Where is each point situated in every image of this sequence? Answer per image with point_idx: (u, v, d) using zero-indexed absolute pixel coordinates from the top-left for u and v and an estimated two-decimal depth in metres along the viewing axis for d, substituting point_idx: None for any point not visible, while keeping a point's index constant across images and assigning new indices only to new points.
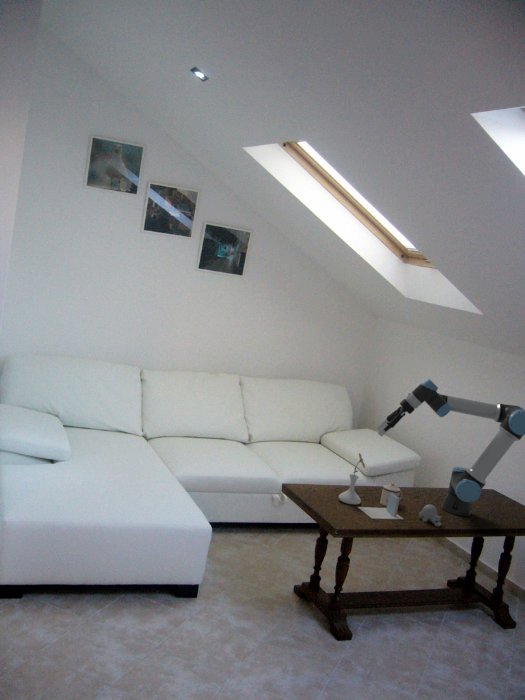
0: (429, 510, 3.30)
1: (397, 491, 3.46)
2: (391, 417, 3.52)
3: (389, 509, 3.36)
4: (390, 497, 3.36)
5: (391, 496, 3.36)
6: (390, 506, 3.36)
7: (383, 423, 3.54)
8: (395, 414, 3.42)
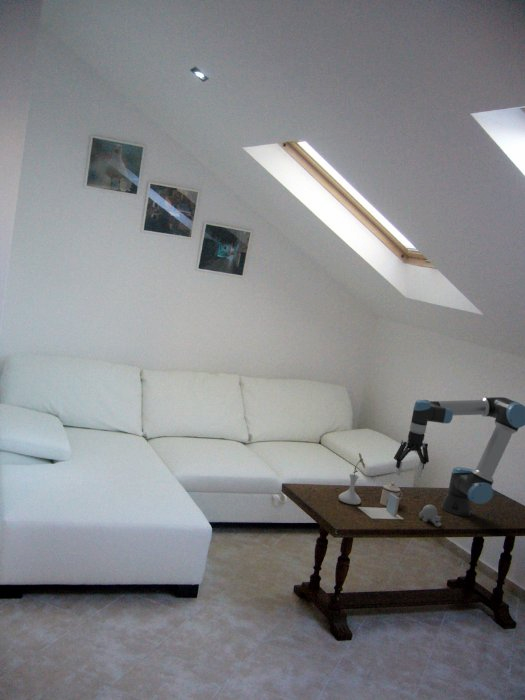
0: (429, 510, 3.30)
1: (397, 491, 3.46)
2: (419, 456, 3.37)
3: (389, 509, 3.36)
4: (390, 497, 3.36)
5: (391, 496, 3.36)
6: (390, 506, 3.36)
7: (418, 467, 3.38)
8: (405, 448, 3.34)
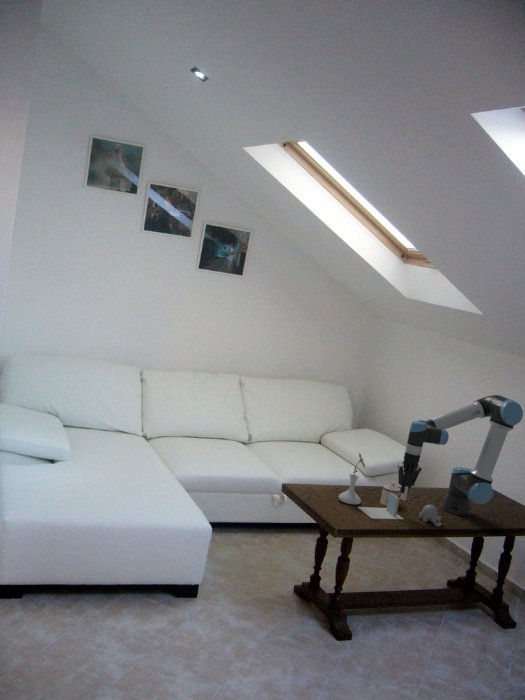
0: (429, 510, 3.30)
1: (397, 491, 3.46)
2: None
3: (389, 509, 3.36)
4: (390, 497, 3.36)
5: (391, 496, 3.36)
6: (390, 506, 3.36)
7: None
8: None
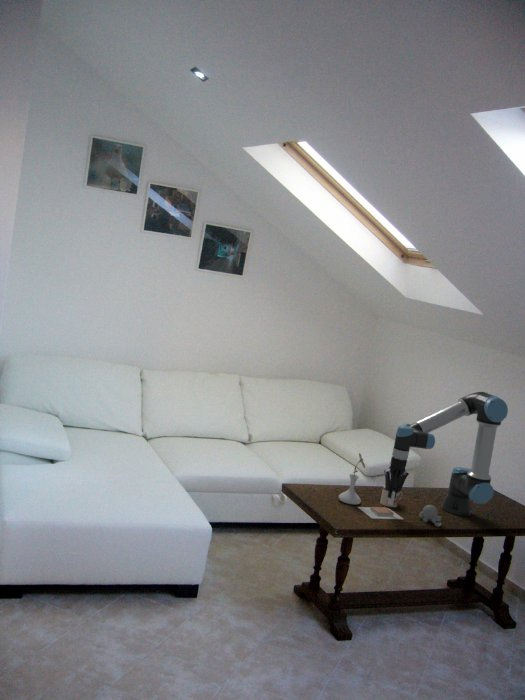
0: (429, 510, 3.30)
1: None
2: (395, 484, 3.34)
3: None
4: None
5: None
6: None
7: None
8: None
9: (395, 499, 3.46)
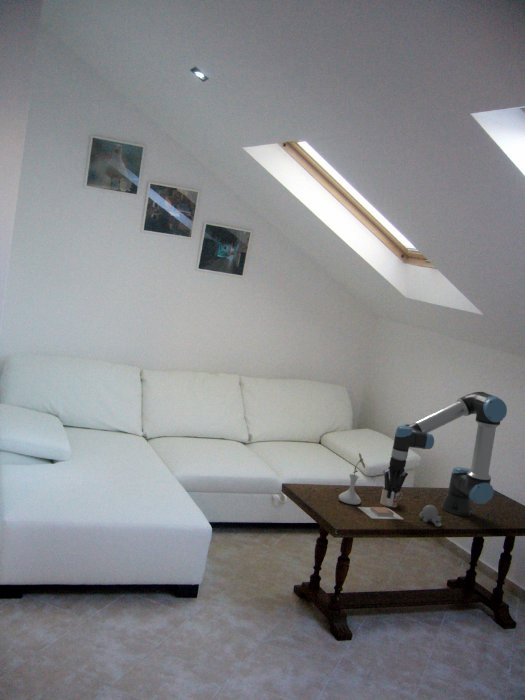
0: (429, 510, 3.30)
1: None
2: (394, 484, 3.34)
3: None
4: None
5: None
6: None
7: None
8: None
9: (395, 499, 3.46)
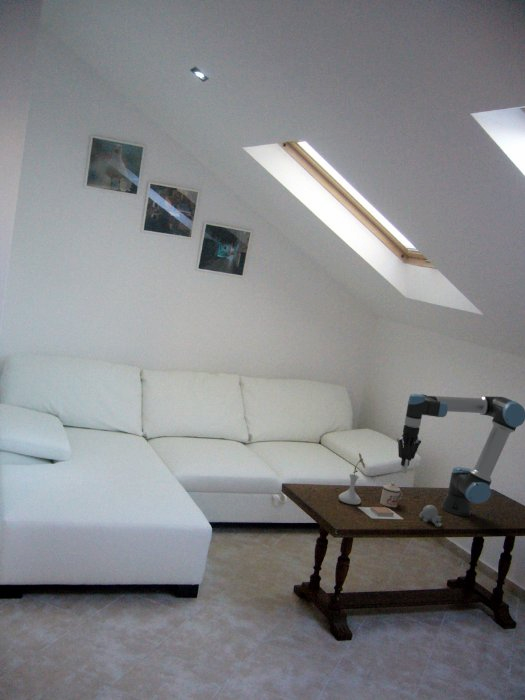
0: (429, 510, 3.30)
1: (397, 491, 3.46)
2: (408, 451, 3.37)
3: None
4: None
5: None
6: None
7: None
8: (403, 444, 3.37)
9: (395, 499, 3.46)
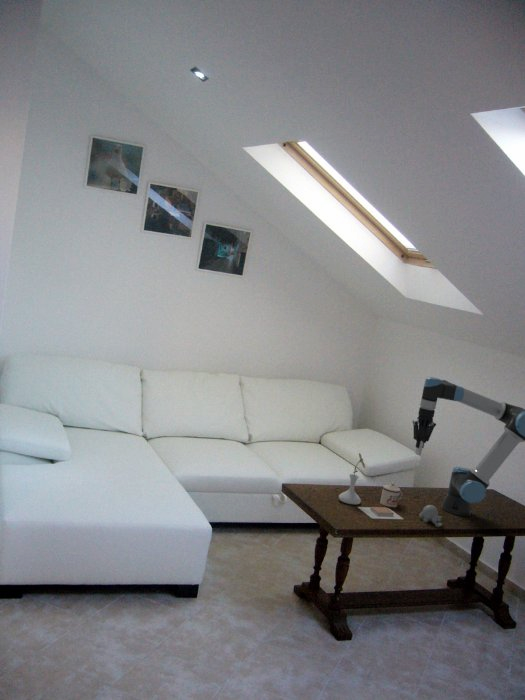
0: (429, 510, 3.30)
1: (397, 491, 3.46)
2: (422, 434, 3.42)
3: None
4: None
5: None
6: None
7: None
8: (418, 426, 3.42)
9: (395, 499, 3.46)
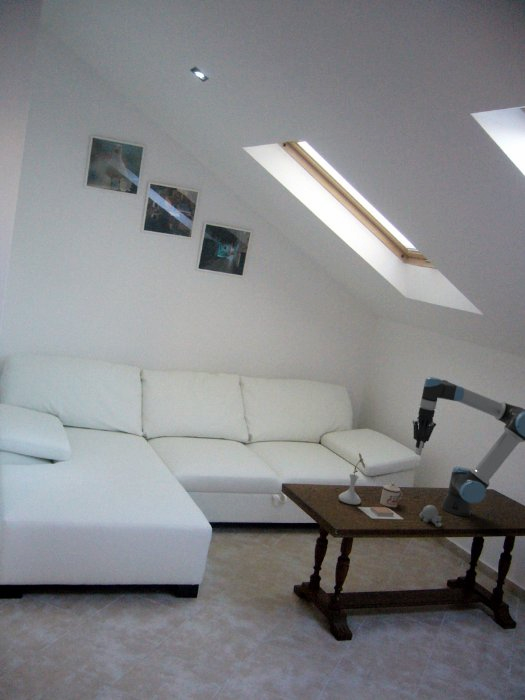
0: (429, 510, 3.30)
1: (397, 491, 3.46)
2: (422, 434, 3.42)
3: None
4: None
5: None
6: None
7: None
8: (418, 426, 3.42)
9: (395, 499, 3.46)
